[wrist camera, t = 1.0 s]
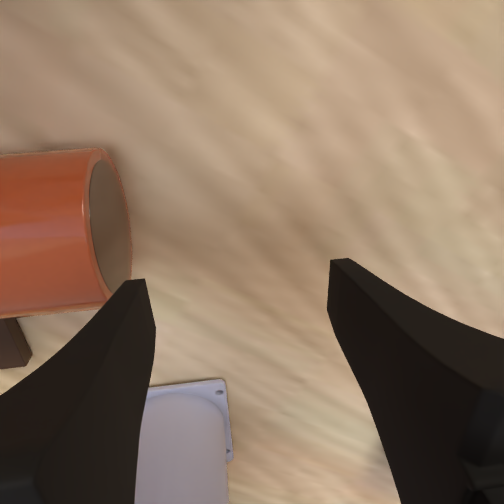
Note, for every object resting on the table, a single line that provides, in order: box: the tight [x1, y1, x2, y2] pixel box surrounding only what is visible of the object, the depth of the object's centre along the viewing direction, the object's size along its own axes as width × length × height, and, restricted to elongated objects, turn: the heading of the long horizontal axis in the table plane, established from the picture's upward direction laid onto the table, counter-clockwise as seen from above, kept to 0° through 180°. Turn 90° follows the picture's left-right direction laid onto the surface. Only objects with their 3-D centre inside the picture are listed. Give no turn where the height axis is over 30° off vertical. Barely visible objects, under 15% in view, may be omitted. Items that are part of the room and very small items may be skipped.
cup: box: [0, 148, 132, 320], centre depth 17 cm, size 8×7×7 cm
